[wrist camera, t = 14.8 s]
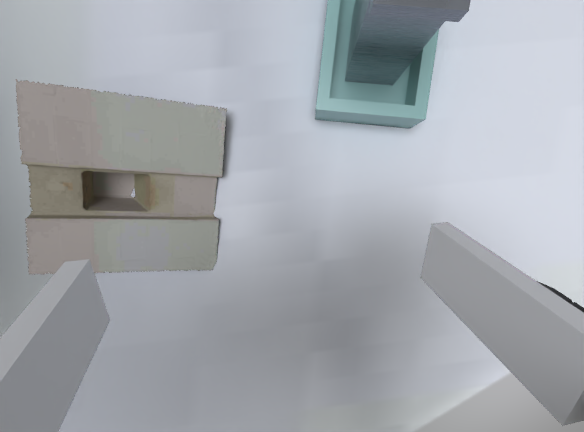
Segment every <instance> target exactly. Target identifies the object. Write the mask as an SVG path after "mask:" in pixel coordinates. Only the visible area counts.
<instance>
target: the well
mask: <svg viewBox="0 0 584 432" xmlns="http://www.w3.org/2000/svg"><path fill="white" fill-rule="evenodd" d="M355 1H356V0H328V3H327V12H326V21H325V30H324V39H323V49H322V58H321V67H320V76H319V85H318V94H317V103H316V116H315V119H316V120H326V121H337V122H348V123H358V124H369V125H380V126H390V127H401V128H411V127H413V126H415V125H417V124H418V123H420V122H422V121H424V120H425V119H426V113H427V106H428V99H429V92H430V86H431V79H432V72H433V66H434V59H435V52H436V45H437V39H438V32H439V29H438V30H437V32H436V33H435V34H434V35H433V37H432V38H431V39H430V40H429V42H428V43H427V44H426V45H425V46H424V48H423V49H422V50H421V51H420V53H419V54H418V55H417V56H416V58H415V59H414V60H413V61H412V62H411V64H410V65H409V66H408V67H407V69H406V70H405V71H404V72H403V74H402V75H401V76H400V77H399V79H398V80H397V81H396V82H395V83H394V85H381V84H369V83H358V82H346V81H345V73H346V65H347V57H348V48H349V40H350V31H351V23H352V15H353V9H354V5H355Z"/></svg>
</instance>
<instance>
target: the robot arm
mask: <svg viewBox="0 0 584 432" xmlns="http://www.w3.org/2000/svg"><path fill="white" fill-rule="evenodd" d="M420 278H421V279H422V280H423V281H424V282H425V283H426V284H427V285H428V286H429V287H430V288H431V289H432V290H433V291H434V292H435V293H436V295H437V296H438V297H439V298H440V299H441V300H442V301H443V302H444V303H445V304H446V305H447V306H448V307H449V308H450V309H451V310H452V311H453V312H454V313H455V314H456V315H457V316H458V317H459V319H460V320H461V321H462V322H463V323H464V324H465V325H466V326H467V327H468V328H469V329H470V330H471V331H472V332H473V333H474V334H475V335H476V336H477V337H478V338H479V339H480V340H481V341H482V342H483V344H484V345H485V346H486V347H487V348H488V349H489V350H490V351H491V352H492V353H493V354H494V355H495V356H496V357H497V358H498V359H499V360H500V361H501V362H502V363H503V364H504V365H505V366H506V367H507V369H508V370H509V371H510V372H511V373H512V374H513V375H514V376H515V377H516V378H517V379H518V380H519V381H520V382H521V383H522V384H523V385H524V386H525V387H526V388H527V389H528V390H529V391H530V392H531V393H532V395H533V396H534V397H535V398H536V399H537V400H538V401H539V402H540V403H541V404H542V405H543V406H544V407H545V408H546V409H547V410H548V411H549V412H550V413H551V414H552V415H553V416H554V418H555V419H557V421H558V422H559V423H561V425H562V426H563V425H568V424H571V423H575V422H580V421H584V308H583V307H581V306H580V305H578V304H577V303H575V302H574V303H573V302H572V300H571V299H569V298H568V297H566V296H565V295H563V294H562V293H560V292H559V291H557V290H555V289H553V288H551V287H549V286H547V285H544V284H542V283H540V282H538V281H535V280H534V279H532V278H531V277H529V276H528V275H526V274H525V273H523V272H522V271H520V270H519V269H517V268H516V267H514V266H513V265H511V264H510V263H508V262H507V261H505V260H504V259H502V258H501V257H499V256H498V255H496V254H495V253H493V252H492V251H490V250H489V249H487V248H486V247H484V246H483V245H481V244H480V243H478V242H477V241H475V240H474V239H472V238H471V237H469V236H468V235H466V234H465V233H463V232H462V231H460V230H459V229H457V228H456V227H454V226H453V225H451V224H450V223H448V222H445V223H436V224H431V229H430V234H429V239H428V244H427V248H426V253H425V258H424V263H423V267H422V272H421V277H420ZM109 321H110V318H109V315H108V312H107V309H106V306H105V303H104V300H103V297H102V295H101V292H100V289H99V286H98V283H97V280H96V277H95V274H94V271H93V268H92V265H91V262H90V259H86V260H77V261H67V262H64V263H63V265H62V266H61V267H60V268H59V269H58V270H57V272H56V273H55V274H54V275H53V276H52V278H51V279H50V280H49V281H48V282H47V283H46V285H45V286H44V287H43V288H42V289H41V290H40V292H39V293H38V294H37V295H36V296H35V298H34V299H33V300H32V301H31V302H30V303H29V305H28V306H27V307H26V308H25V309H24V310H23V312H22V313H21V314H20V315H19V316H18V318H17V319H16V320H15V321H14V322H13V323H12V325H11V326H10V327H9V328H8V329H7V331H6V332H5V333H4V334H3V335H2V336H1V338H0V432H58V431H59V429H60V427H61V425H62V422H63V420H64V418H65V416H66V414H67V412H68V409H69V407H70V405H71V403H72V401H73V399H74V397H75V394H76V392H77V390H78V388H79V386H80V384H81V382H82V379H83V377H84V375H85V373H86V371H87V369H88V366H89V364H90V362H91V360H92V358H93V356H94V354H95V351H96V349H97V347H98V345H99V343H100V341H101V338H102V336H103V334H104V332H105V330H106V328H107V326H108V323H109Z"/></svg>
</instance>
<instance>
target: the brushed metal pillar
mask: <svg viewBox="0 0 584 432" xmlns="http://www.w3.org/2000/svg"><path fill="white" fill-rule="evenodd" d="M469 5H470V0H356V1H355V5H354V9H353V15H352V23H351V31H350V40H349V48H348V57H347V65H346V73H345V81H346V82H358V83H369V84H381V85H394V83H395V82H396V81H397V80H398V79H399V77H400V76H401V75H402V74H403V72H404V71H405V70H406V69H407V67H408V66H409V65H410V64H411V62H412V61H413V60H414V59H415V58H416V56H417V55H418V54H419V53H420V51H421V50H422V49H423V48H424V46H425V45H426V44H427V43H428V42H429V40H430V39H431V38H432V37H433V35H434V34H435V33H436V32H437V30H438V29H439V28H440V27H441V25H442V24H443V23H444V22H445V21H452V22H459V21H460V20H461V19H462V17H463V16H464V15H465V14H466V13H467V12H468V11H469Z"/></svg>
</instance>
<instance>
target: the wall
mask: <svg viewBox="0 0 584 432" xmlns="http://www.w3.org/2000/svg"><path fill="white" fill-rule="evenodd" d="M16 82H17V84H16V92H17V96H16V97H17V104H18V109H17V110H18V115H19V116H18V123H19V124H18V127H20V130H19V142H20V149H21V150H22V156H21V161H22V163H21V164H26V165H27V166H28V169H29V171H28V172H29V174H30V175H29V180H30V181H29V182H30V183H31V186H29V187H30V188H31V191H30V192H31V194H30V198H31V199H30V202H31V205H30V207H31V208H32V210H33V211H31V214H30V215H29V217H27V218H26V219H25V221H26V222H25V223H26V224H27V225H26V228H27V229H26V230H27V231H26V235H27V238H28V240H26V241H27V242H28V243H27V247H28V248H29V249H27V251H28V252H27V253H28V255H29V256H28V261H29V267H28V268H29V271H28V272H30V273H29V274H45V273H46V274H47V273H48V272H49V273H50V274H51V273H52V274H55V273H56V272H57V270H58V269H59V268H60V267H61V266H62V265H63V263H64V262H67V261H77V260H86V259H90V262H91V265H92V268H93V271H94V273H105V272H109V273H111V272H129V271H131V272H132V271H133V272H134V271H136V272H138V271H139V272H142V271H143V272H145V271H164V270H166V271H167V270H169V271H177V270H179V271H180V270H184V271H188V270H198V271H200V269H202V270H213V268H214V266H215V264H216V262H217V261H216V260H217V255H216V253H217V246H218V245H217V243H218V238H217V236H218V232H219V231H218V228H219V227H218V226H219V219H217V218H216V217H214V214H213V213H214V210H215V206H214V205H215V203H216V202H215V198H216V197H215V195H216V192H215V189H216V185H217V177H222V172H223V154H224V143H223V141H225V140H224V135H225V133H224V132H225V127H226V124H225V122H226V112H227V110H226V109H227V108H226V109H224V108H221V107H220V109H218V107H216V108H215V107H214V106H207V105H206V106H205V105H197V104H196V105H194V104H191V103H190V104H189V103H187V104H186V103H185V102H183V103H181V102H179V103H178V102H176V101H172V100H170V101H167V100H165V99H164V100H162V99H161V100H157V99H154V98H148V97H143V96H141V97H140V96H132V95H129V96H127V95H125V94H124V95H122V94H119V93H111V92H106V91H104V92H103V93H101V92H100V91H96V90H89V89H83V88H81V89H79V88H78V87H77V88H76V87H75V88H74V87H68V86H67V87H66V86H65V87H63V85H54V84H50V83H49V84H48V85H46V84H45V83H39V82H38V83H35V82H31V83H30V82H29V81H20V82H18V80H17V79H16ZM134 187H135V197H134V198H133V197H131V196H130V195H131V193H132V191H133V188H134Z"/></svg>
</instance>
